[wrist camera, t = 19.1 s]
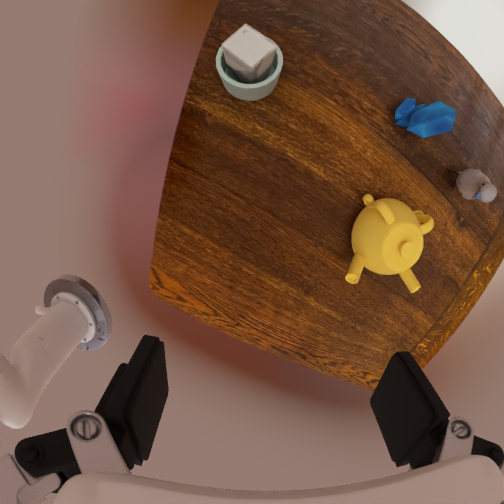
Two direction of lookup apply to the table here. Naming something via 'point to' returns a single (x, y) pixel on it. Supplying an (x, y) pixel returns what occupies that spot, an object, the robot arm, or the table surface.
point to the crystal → (425, 117)
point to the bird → (474, 185)
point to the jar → (250, 90)
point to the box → (248, 55)
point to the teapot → (388, 240)
